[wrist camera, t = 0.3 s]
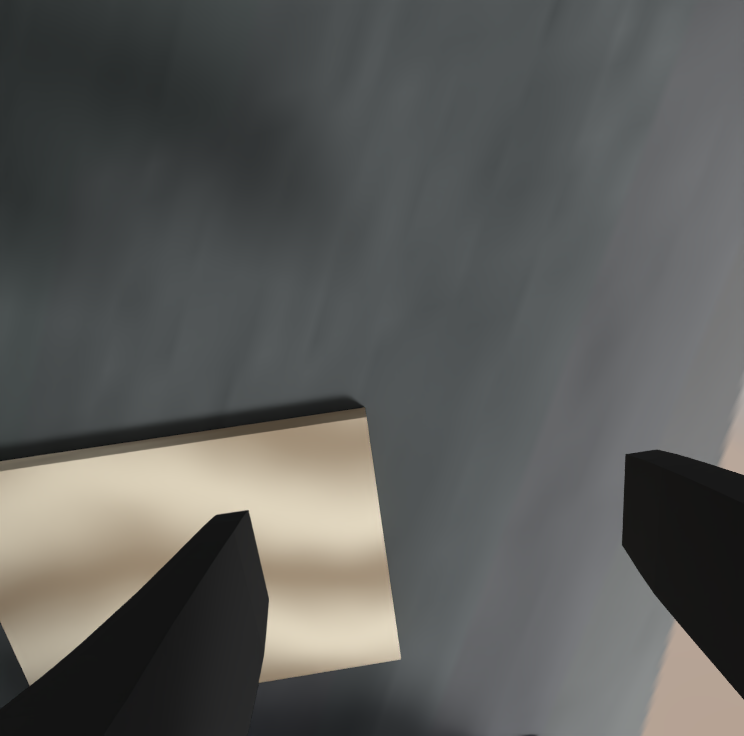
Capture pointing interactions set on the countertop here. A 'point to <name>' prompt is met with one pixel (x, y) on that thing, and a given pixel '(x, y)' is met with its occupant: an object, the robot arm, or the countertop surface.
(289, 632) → the board
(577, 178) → the countertop surface
